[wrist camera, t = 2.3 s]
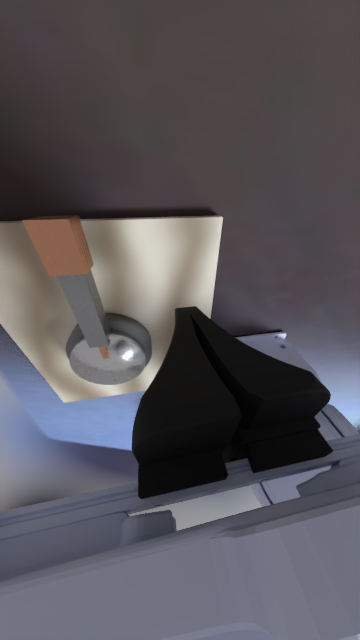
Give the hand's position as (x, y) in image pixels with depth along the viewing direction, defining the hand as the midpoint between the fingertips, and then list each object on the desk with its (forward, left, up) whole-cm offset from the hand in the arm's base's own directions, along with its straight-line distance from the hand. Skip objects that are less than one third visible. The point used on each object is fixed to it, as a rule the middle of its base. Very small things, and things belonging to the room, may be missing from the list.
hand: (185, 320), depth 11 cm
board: (+6, +6, -7) cm, 11 cm away
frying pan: (+7, +3, -4) cm, 9 cm away
